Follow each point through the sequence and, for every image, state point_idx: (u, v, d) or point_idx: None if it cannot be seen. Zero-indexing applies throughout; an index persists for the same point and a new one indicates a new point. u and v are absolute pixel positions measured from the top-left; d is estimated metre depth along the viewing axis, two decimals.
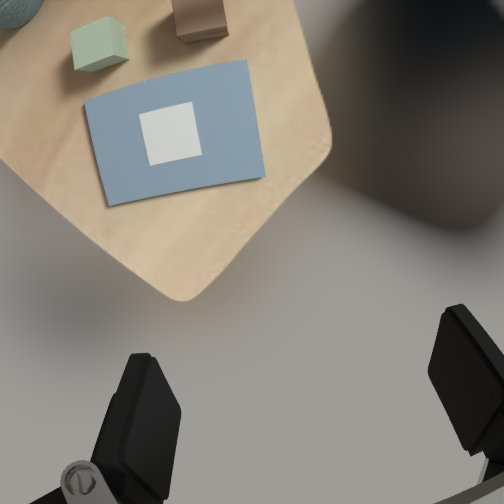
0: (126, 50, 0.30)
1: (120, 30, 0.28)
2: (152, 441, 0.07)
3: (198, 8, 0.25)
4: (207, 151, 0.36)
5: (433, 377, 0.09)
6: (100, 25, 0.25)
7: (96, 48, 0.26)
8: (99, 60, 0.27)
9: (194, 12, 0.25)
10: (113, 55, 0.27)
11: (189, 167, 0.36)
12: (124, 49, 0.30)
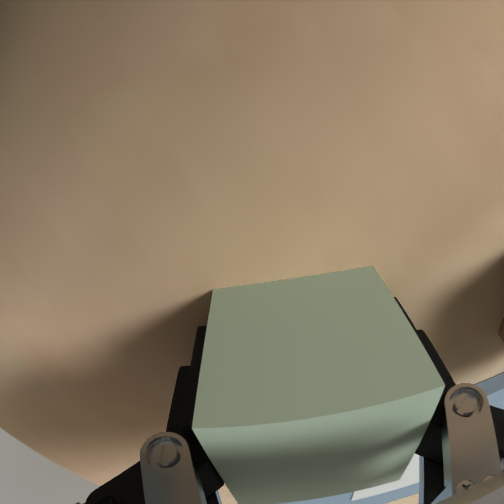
0: None
1: None
2: None
3: None
4: None
5: None
6: (390, 423, 0.06)
7: (343, 478, 0.07)
8: None
9: None
10: None
11: (408, 488, 0.17)
12: None
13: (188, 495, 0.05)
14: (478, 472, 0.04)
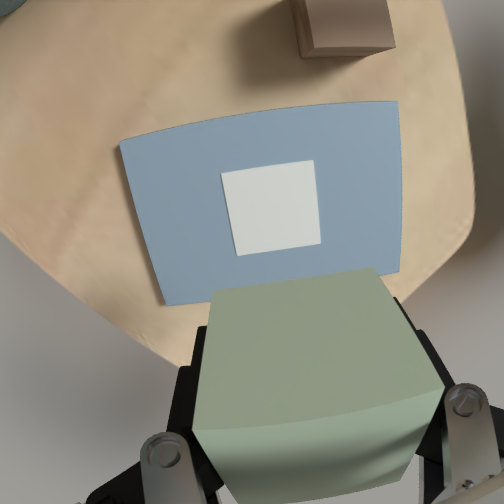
0: None
1: None
2: None
3: (350, 5, 0.14)
4: (329, 238, 0.24)
5: None
6: (390, 424, 0.06)
7: (344, 479, 0.07)
8: None
9: (343, 11, 0.14)
10: None
11: (299, 260, 0.25)
12: None
13: (188, 495, 0.05)
14: (478, 472, 0.04)
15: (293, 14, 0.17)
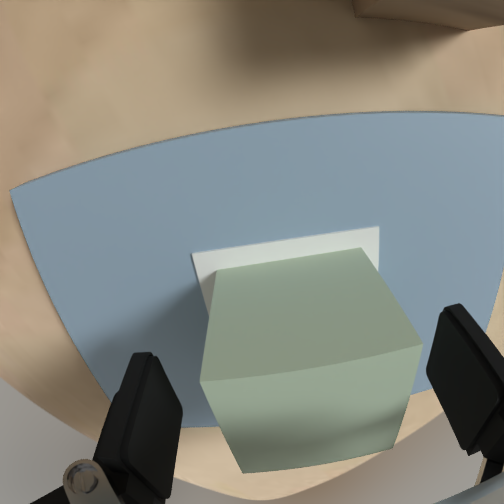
0: None
1: None
2: (154, 440, 0.07)
3: None
4: None
5: (431, 376, 0.09)
6: (376, 379, 0.07)
7: (338, 441, 0.08)
8: None
9: None
10: None
11: None
12: None
13: None
14: None
15: None
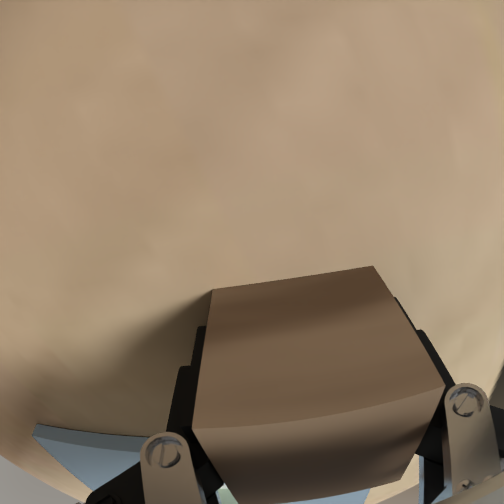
0: None
1: None
2: None
3: (328, 464, 0.06)
4: None
5: None
6: None
7: None
8: None
9: (306, 474, 0.06)
10: None
11: None
12: None
13: (188, 495, 0.05)
14: (479, 472, 0.04)
15: None
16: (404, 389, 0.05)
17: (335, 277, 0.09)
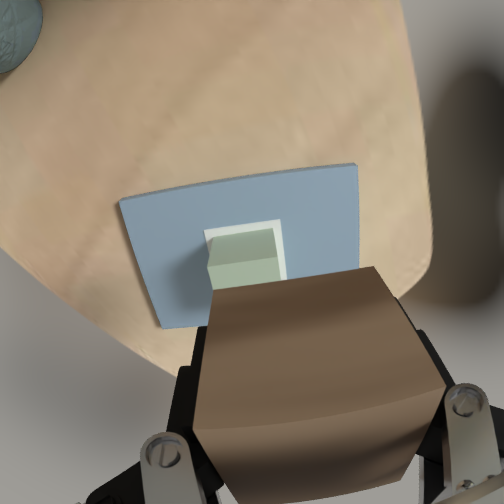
0: None
1: None
2: None
3: (329, 465, 0.06)
4: None
5: None
6: (263, 269, 0.23)
7: None
8: None
9: (307, 475, 0.06)
10: None
11: None
12: None
13: (188, 495, 0.05)
14: (478, 472, 0.04)
15: None
16: (404, 390, 0.05)
17: (336, 278, 0.09)
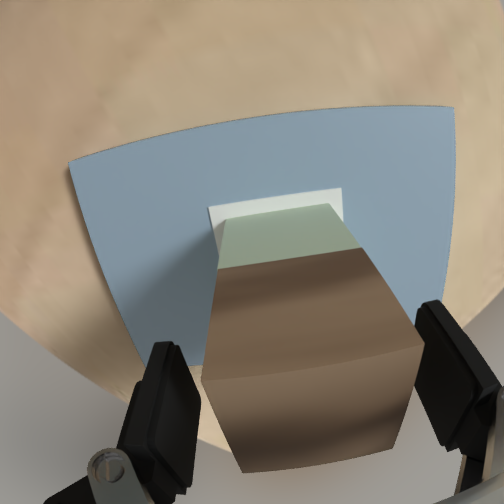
0: None
1: None
2: (178, 428, 0.08)
3: (323, 423, 0.07)
4: None
5: None
6: None
7: None
8: None
9: (303, 434, 0.08)
10: None
11: None
12: None
13: None
14: None
15: None
16: (387, 346, 0.06)
17: (328, 257, 0.11)
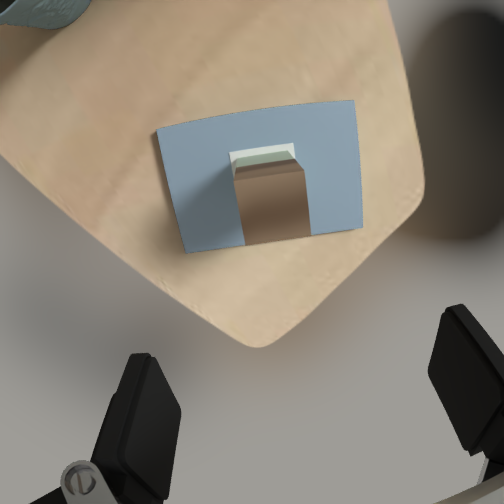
0: None
1: None
2: (152, 441, 0.07)
3: (275, 206, 0.23)
4: None
5: (433, 377, 0.09)
6: None
7: None
8: None
9: (268, 213, 0.23)
10: None
11: None
12: None
13: None
14: None
15: None
16: (291, 171, 0.22)
17: (279, 161, 0.26)
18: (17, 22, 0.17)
